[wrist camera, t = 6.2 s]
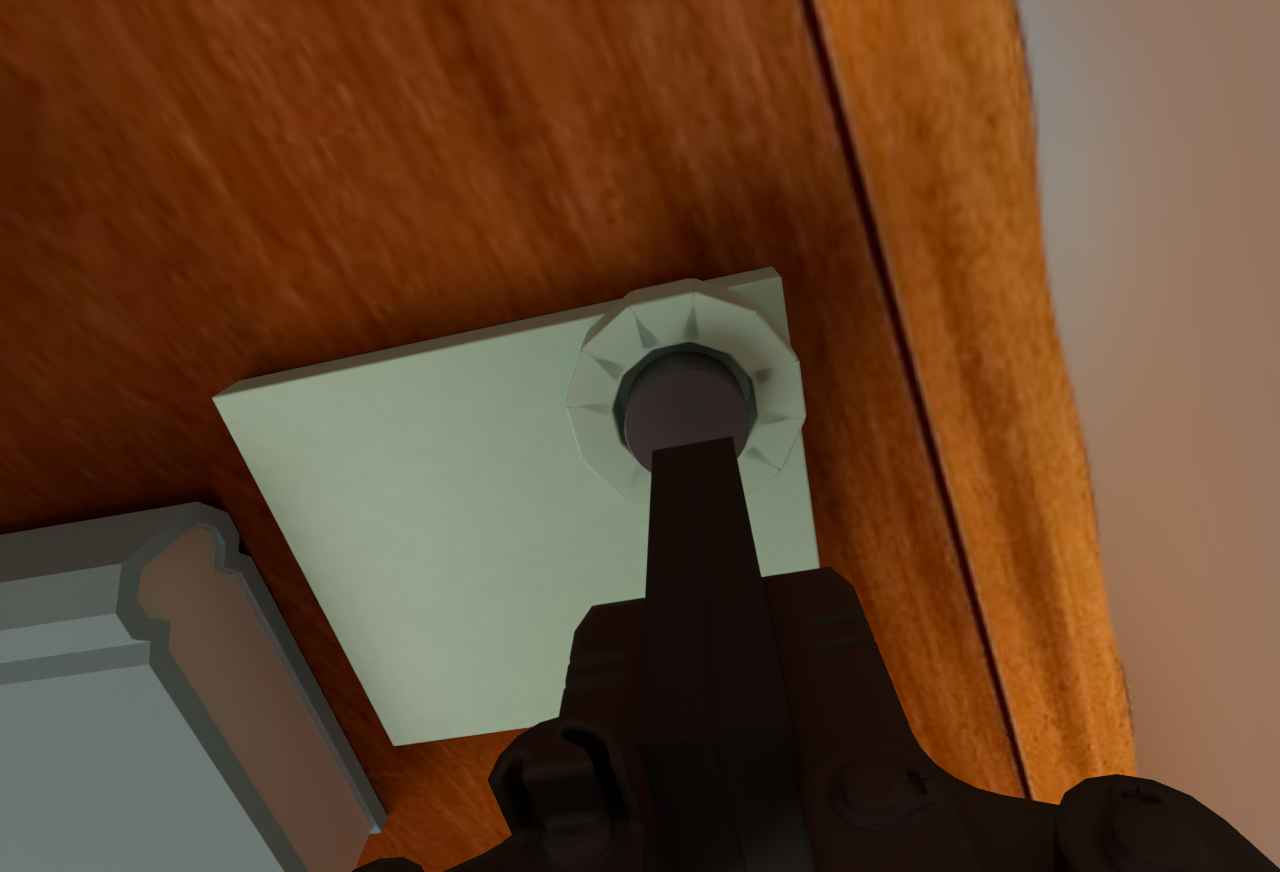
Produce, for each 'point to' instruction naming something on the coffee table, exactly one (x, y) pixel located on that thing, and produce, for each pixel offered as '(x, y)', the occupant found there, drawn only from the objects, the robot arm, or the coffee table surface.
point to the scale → (506, 490)
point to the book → (163, 709)
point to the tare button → (684, 405)
